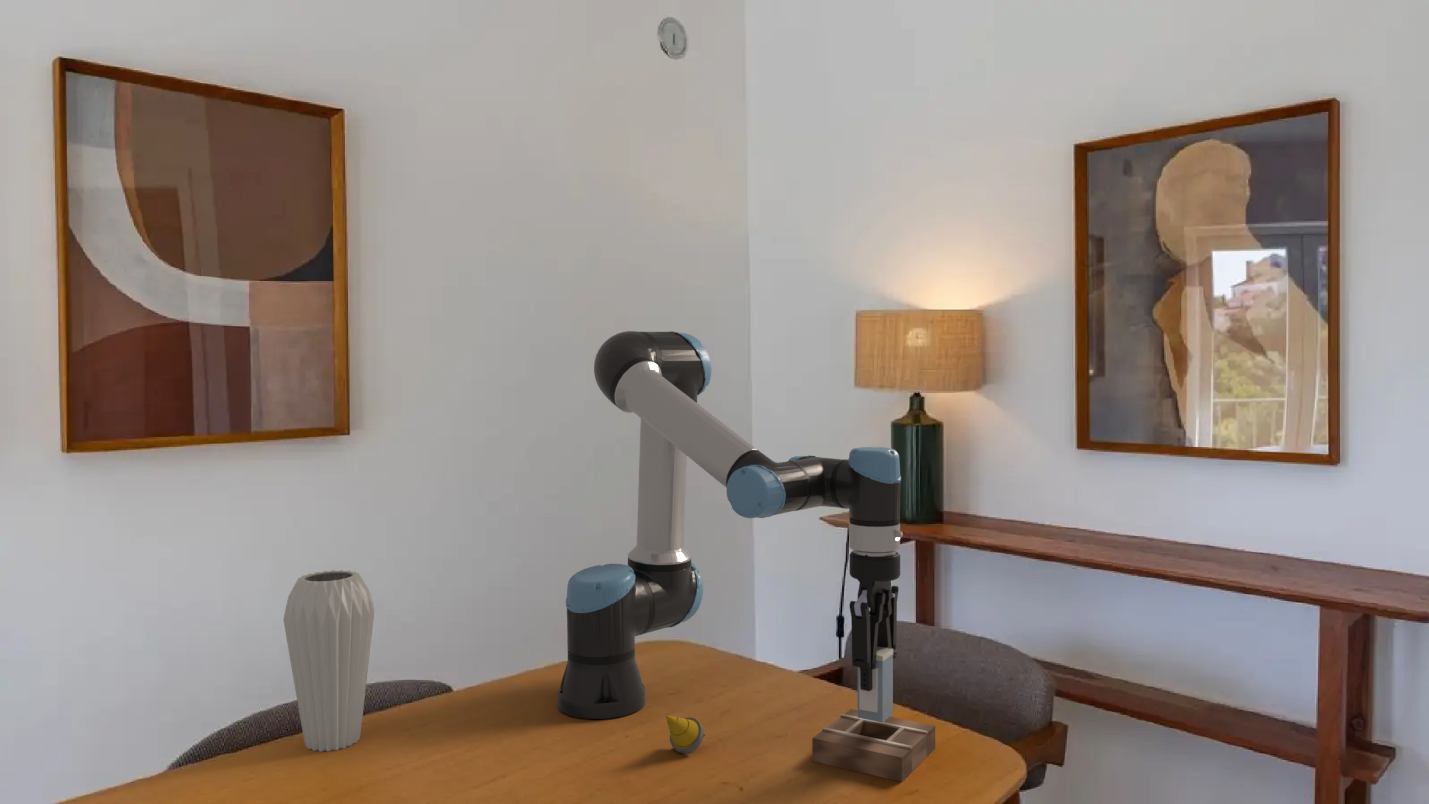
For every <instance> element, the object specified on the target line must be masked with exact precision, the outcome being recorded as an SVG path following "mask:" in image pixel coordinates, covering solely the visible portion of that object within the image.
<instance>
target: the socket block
mask: <svg viewBox="0 0 1429 804" xmlns="http://www.w3.org/2000/svg"><path fill="white" fill-rule="evenodd" d="M811 741H812V742H811V743H812V746H811V748H812V749H811V750H812V751H811V752H812V756H811V757H812V758H811V759H812V762H814V763H818V764H819V763H820V764H823V765H826V766H832V767H836V768H839V769H840V768H841V769H844V770H848V771H853V772H858V773H862V774H865V775H870V776H874V777H878V778H882V779H883V778H884V779H886V780H891V781H895V782H899V783H900V782H901V783H902V782H904V781H905V780H906V779H907V777H908V776H909V775H911V774H912V772H914V770H916V768H918V767H919V765H920V764H921V763H922V762H924V760H925V759H927V757H929V755H931V754H932V752H933V751H935V749H936V725H933V724H928V723H924V722H918V721H913V720H907V719H904V718H898V717H893V716H890V717H889V718H888V719H886V720H885V721H884V722H883V723H882V722H877V721H872V720H867V719H862V718H858V709H853V708H851V709H849V710H848V711H846V712H845V713H841V714H840V716H839V717H838V718H837V719H836V720H835V721H833V722H832V723H831V724H829V725H828V726H826V727H824V726H823V727H822V728H821V731H820V732H819V733H817V734H815V735H814V736H813V737H812V739H811Z"/></svg>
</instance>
